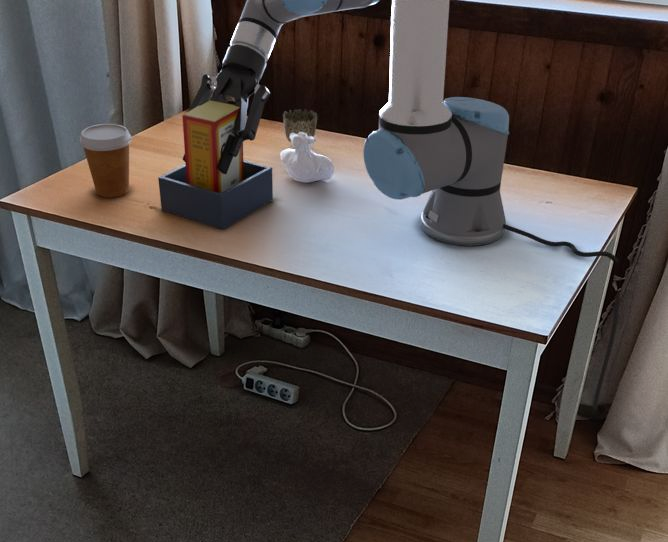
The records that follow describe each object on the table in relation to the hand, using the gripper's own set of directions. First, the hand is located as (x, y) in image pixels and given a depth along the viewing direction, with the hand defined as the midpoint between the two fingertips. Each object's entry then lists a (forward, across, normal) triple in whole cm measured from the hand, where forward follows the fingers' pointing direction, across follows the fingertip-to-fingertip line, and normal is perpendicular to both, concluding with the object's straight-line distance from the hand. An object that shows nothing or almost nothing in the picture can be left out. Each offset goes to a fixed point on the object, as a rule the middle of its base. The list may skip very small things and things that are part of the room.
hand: (204, 166), depth 155 cm
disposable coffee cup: (+7, +21, -6) cm, 23 cm away
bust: (-9, -9, -22) cm, 26 cm away
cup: (-19, 0, -32) cm, 37 cm away
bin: (+4, 0, -9) cm, 10 cm away
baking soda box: (+2, 0, -7) cm, 7 cm away
